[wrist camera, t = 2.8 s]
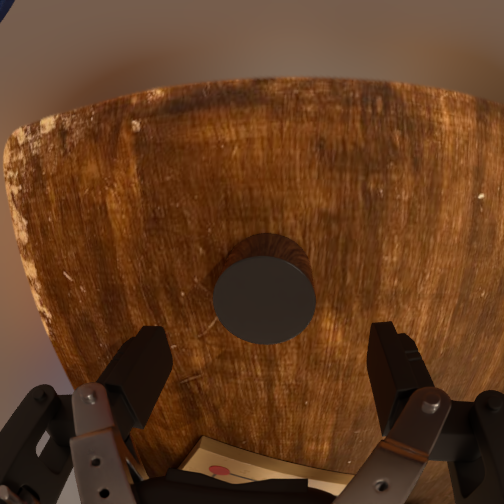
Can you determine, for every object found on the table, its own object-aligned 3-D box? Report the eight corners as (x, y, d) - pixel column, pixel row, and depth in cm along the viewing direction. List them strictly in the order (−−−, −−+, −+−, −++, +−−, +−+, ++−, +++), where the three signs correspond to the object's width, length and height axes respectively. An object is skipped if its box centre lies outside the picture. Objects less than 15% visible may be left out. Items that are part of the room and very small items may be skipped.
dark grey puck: (212, 290, 18) (198, 320, 15) (246, 217, 16) (236, 237, 13) (286, 323, 18) (285, 357, 15) (327, 257, 16) (335, 284, 14)
